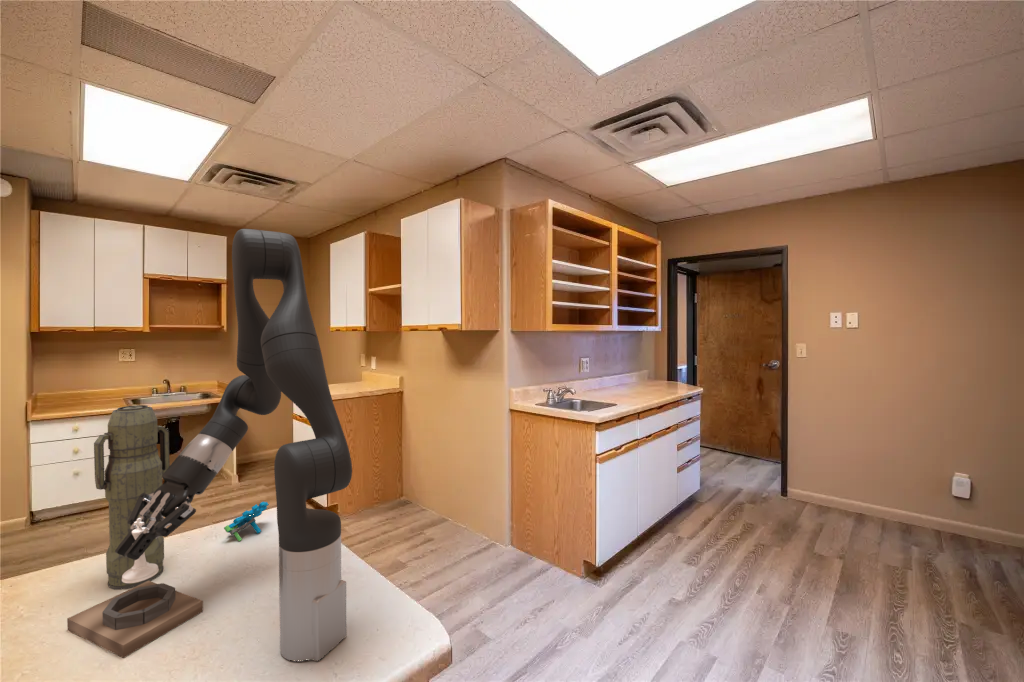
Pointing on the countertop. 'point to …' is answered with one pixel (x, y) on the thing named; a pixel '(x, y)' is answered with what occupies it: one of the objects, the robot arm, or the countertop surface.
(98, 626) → the socket board
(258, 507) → the blue and green toy
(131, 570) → the chess piece
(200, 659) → the countertop surface
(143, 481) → the thermos
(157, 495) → the robot arm
